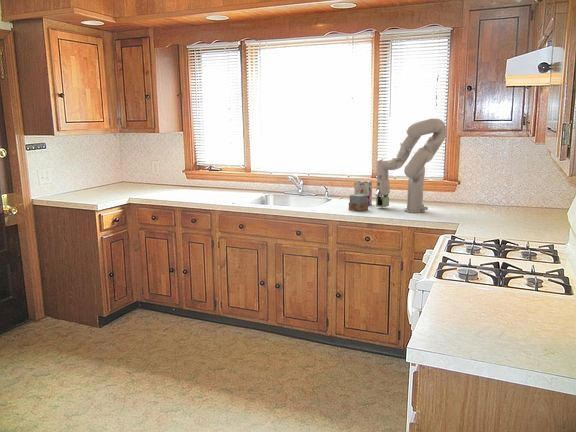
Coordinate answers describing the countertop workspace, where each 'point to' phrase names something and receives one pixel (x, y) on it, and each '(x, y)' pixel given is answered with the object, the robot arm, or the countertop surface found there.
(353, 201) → the upper block
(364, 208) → the lower block
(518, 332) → the countertop surface
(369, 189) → the candy bar box
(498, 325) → the countertop surface
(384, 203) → the green cube
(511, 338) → the countertop surface
